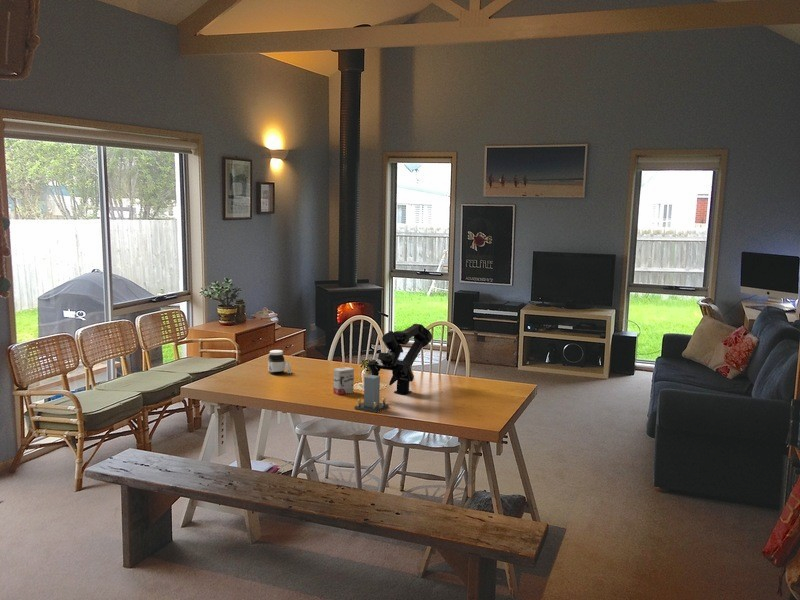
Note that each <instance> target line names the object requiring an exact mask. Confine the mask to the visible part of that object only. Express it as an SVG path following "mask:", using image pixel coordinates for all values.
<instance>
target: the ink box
mask: <svg viewBox="0 0 800 600" xmlns="http://www.w3.org/2000/svg"><path fill="white" fill-rule="evenodd" d="M354 377H355V369H354V368H352V367H349V366H345V367H336V368H334V369H333V393H334V394H336V395H338V396H341V394H342V395H348V394H354V383H355V382H354V380H355V378H354ZM347 393H348V394H347Z"/></svg>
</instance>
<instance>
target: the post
mask: <svg viewBox="0 0 800 600" xmlns="http://www.w3.org/2000/svg"><path fill="white" fill-rule="evenodd" d="M363 377H364V380H363V386H364V387H363V402H364V406H367V407H373V408H374V402H377V406H378V405H379V403H380V396H381V395H380V394H381V391H380V390H381V388H380V387H381V376H379V375H378V376H375V375H372V374H368V375H367V376H363Z"/></svg>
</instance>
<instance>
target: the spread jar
mask: <svg viewBox="0 0 800 600" xmlns="http://www.w3.org/2000/svg"><path fill="white" fill-rule="evenodd" d="M267 364H268V365H267V369H268V373H269V374H270V373H271V374H270V375H282V374H284V372H285V369H286V372H287V374H289V373H290V374H291V373H292V367H291V364H290V362H289V361H288V360H285V356H284V350H281V349H272V350H270V351H269V355H268V358H267ZM281 373H282V374H281Z"/></svg>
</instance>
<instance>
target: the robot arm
mask: <svg viewBox="0 0 800 600" xmlns="http://www.w3.org/2000/svg"><path fill="white" fill-rule="evenodd" d="M412 338H413V343H412V345H411V347H409V350H408V351H407V353H406V354H405V356H404V358H403V359H399V357H400V355H401V354H403V353H404V348H403V346H405V345H407V344H408V343H409V342H410V339H412ZM381 339H382V343H384V346H385V347H386V349H388V350H387V352H378V357H377V360H380V364H379V362H378V361H376V360H369V361H368V362H367V367H368V368H369V369H370V371H371V375H375V376H379V374H380V371H381V370H385V371H391V373H392V375H391V378H390V380H389V384H388V385H389V386H392V385H393V384H394V383H396V390H395V391H393V393H394V394H400V395H404V396H405V395H408V394H411V393H412V392H413V391H412V390H410V382H413V381H414V379H415V378H414V377H415V375H414V374H413V370H412V365H413V364H414V362H415V361H416V358H417V357H418V356H419V354H420V352H421V350H422V349H423V348H424V347H427V346H428V345H429V344H430V343H431V341H432V339H433V334H432V333H431V331H430V330H429V329H427V328H426V327H425V326H424V325H423V324H422V323H421V324H420V323H419V324H418V323H413V324H412V325H410V326H409V327H406V328H405V329H404V330H397V331H396V330H395V331H391V330H389V331H388V332H386V333H384V334H383V335H382V337H381ZM402 345H403V346H402Z"/></svg>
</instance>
